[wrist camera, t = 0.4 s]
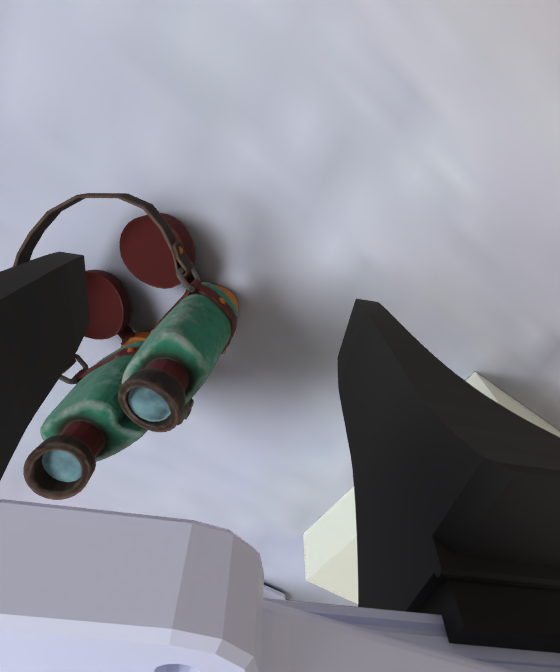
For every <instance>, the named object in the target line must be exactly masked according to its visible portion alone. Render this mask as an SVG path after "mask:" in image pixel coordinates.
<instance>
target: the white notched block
mask: <svg viewBox="0 0 560 672" xmlns="http://www.w3.org/2000/svg"><path fill="white" fill-rule="evenodd" d="M465 381H466V382H467V383H469V384H470V385H472V386H473V387H474V388H476V389H477V390H479V391H480V392H481V393H483V394H484V395H486V396H487V397H489V398H490V399H492V400H494V401H495V402H497V403H499V404H500V405H502V406H504V407H505V408H507V409H508V410H510V411H512V412H513V413H515V414H517V415H519V416H520V417H522V418H524V419H526V420H527V421H529V422H531V423H533V424H535V425H537V426H539V427H541V428H543V429H545V430H546V431H548V432H550V433H552V434H554V435H556V436H558V437H560V431H558V430H557V429H555V428H554V427H553V426H551V425H550V424H548V423H547V422H546V421H544V420H543V419H541V418H540V417H538V416H537V415H536V414H534V413H533V412H531V411H530V410H529V409H527V408H526V407H524V406H523V405H521V404H520V403H519V402H517V401H516V400H514V399H513V398H512V397H510V396H509V395H507V394H506V393H504V392H503V391H502V390H500V389H499V388H497V387H496V386H495V385H493V384H492V383H490V382H489V381H488V380H486V379H485V378H483V377H482V376H480V375H479V374H478V373H476V372H474V373H473V374H472V375H471V376H470V377H469V378H468V379H467V380H465ZM303 539H304V556H305V573H306V581H308V582H311V583H313V584H315V585H317V586H319V587H321V588H324V589H326V590H328V591H330V592H332V593H334V594H337V595H339V596H341V597H343V598H345V599H347V600H350V601H352V602H354V603H356V604H358V560H357V531H356V510H355V494H354V486H353V487H352V488H351V489H350V490H349V491H348V492H347V493H346V494H345V495H344V496H343V497H342V498H340V499H339V500H338V501H337V502H336V503H335V504H334V505H333V506H332V507H331V508H330V509H329V510H328V511H327V512H326V513H325V514H324V515H322V516H321V517H320V518H319V519H318V520H317V521H316V522H315V523H314V524H313V525H312V526H311V527H310V528H309V529H308V530H307V531H306V532H304V533H303Z"/></svg>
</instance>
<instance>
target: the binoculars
mask: <svg viewBox="0 0 560 672" xmlns="http://www.w3.org/2000/svg"><path fill="white" fill-rule="evenodd" d="M85 198H119V199H121V200H123V201H126V202H128V203H130V204H133V205H135V206H137V207H140V208H142V209H143V210H144V211H145V212H146V213H147V214H148V215H145V216H141V217H138V218H135V219H133V220H132V221H131V222H129V223H128V224H127V225H126V227H125V228H124V230H123V232H122V234H121V238H120V252H121V257H122V259H123V261H124V264H125V265H126V267H127V268H128V270H129V271H130V272H131V273H132V274H133V275H134V276H135V277H136V278H138V279H139V280H141V281H142V282H144V283H146V284H148V285H151V286H154V287H156V288H163V289H167V288H173V287H175V286H177V285H179V284H180V283H182V284H183V286H184V287H185V288H186V292H185V293H184V295H183V296H182V297H181V298H180V299H179V300H178V301H177V303H176V304H175V305H174V306H173V307H172V308H171V309H170V310H169V311H168V312H167V313H166V314H165V315H164V316H163V317H162V318H161V319H160V321H159V322H158V323H157V324H156V325H155V326H154V329H153V330H152V331H151V333H148V332H136V333H134V332H133V330H132V329H131V328H130V327H129V325H128V322H129V319H130V312H131V309H130V301H129V297H128V294H127V292H126V289H125V287H124V286H123V284H122V283H121V282H120V281H119V280H118V279H117V278H116V277H115V276H113V275H111V274H110V273H107V272H105V271H100V270H88V271H85V272H86V283H87V294H88V305H89V316H90V323H89V325H88V328H87V330H86V332H85V334H84V336H85V337H88V338H92V339H108V338H111V337H113V336H115V335H116V334H118V335H119V336H120V337H121V339H122V343H121V344H122V346H121V348H120V349H118V350H117V351H115V352H113V353H112V354H110V355H108V356H106V357H105V358H103V359H102V360H101V361H99V362H98V363H97V364H96V365H94V366H92V367H91V368H89V369H88V365H87V364H86V363H85V362H84V361H83V359H82V358H81V357H80V356H79V355H77V354H75V355H74V356H73V358H72V359H71V361H70V362H69V364H68V366H67V367H66V369H65V370H64V372H66V371H67V370H68V369H69V368H70V367H71V366H72V365H73V364H74V363H75V362H76V360H77V361H78V362H79V363H80V364H81V365H82V367H83V370H80V371H79V372H78V373H77V374H76V375H75V376H74V377H73V378H72V379H69V378H67V377H65V376H63V375H61V376H60V378H59V380H62V381H64V382H66V383H68V384H76V386H75V387H74V388H73V389H72V390H71V391H70V392H69V393H68V395H67V396H66V397H65V398H64V399H63V400H62V401H61V402H60V404H59V405H58V406H57V407H56V408H55V409H54V410H53V411H52V413H51V414H50V415H49V416H48V417H47V418H46V420H45V422H44V423H43V425H42V427H41V431H40V432H41V436H42V438H43V440H44V441H43V442H42V443H41V444H40V445H39V446H38V447H37V448H36V449H35V450H34V451H33V452H32V453H31V454H30V455H29V456H28V458H27V459H26V461H25V464H24V478H25V481H26V483H27V484H28V486H29V487H30V488H31V489H32V491H33V492H35V493H36V494H38V495H39V496H42V497H44V498H48V499H53V500H61V499H66V498H70V497H72V496H75V495H76V494H78V493H79V492H80V491H81V490H82V489H83V488H84V487H85V486H86V484H87V483H88V481H89V479H90V477H91V476H92V474H93V472H94V470H95V467H96V462H97V461H100V460H103V459H105V458H108V457H110V456H112V455H114V454H116V453H118V452H120V451H121V450H123V449H125V448H126V447H128V446H130V445H131V444H132V443H134V442H135V441H137V440H138V439H139V438H141V437H142V436H143V435H144V434H145V433H146V432H147V430H150V431H154V432H167V431H170V430H172V429H173V428H175V426H176V425H179V424H181V423H182V422H183V420H184V419H187V417H188V416H189V414H190V412H191V408H192V406H193V404H194V400H193V399H192V397H193V396H194V395H195V393H196V392H197V391H198V390H199V389H200V387H201V386H202V385H203V383H204V382H205V381H206V379H207V377H208V376H209V374H210V373H211V371H212V369H213V367H214V365H215V364H216V362H217V360H218V358H219V356H220V355H221V354H224V353H225V351H226V348H227V347H228V345H229V344H230V341H231V339H232V337H233V335H234V332H235V330H236V323H237V319H238V311H239V306H238V302H237V299H236V298H235V296H234V295H233V294H232V293H231V292H230V291H229V290H228V289H226V288H224V287H221V286H219V285H215V284H212V283H208V282H204V283H201V281H200V277H199V275H198V273H197V271H196V269H195V267H194V263H195V252H194V246H193V242H192V239H191V237H190V234H189V233H188V231H187V229H186V228H185V227H184V226H183V224H182V223H181V222H180V221H178V220H177V219H176V218H174V217H172V216H170V215H168V214H163V213H159V212H158V210H157V209H156V208H155V207H154V206H153V204H150V203H148V202H146V201H143V200H141V199H139V198H137V197H134V196H132V195H130V194H122V193H87V194H80V195H76V196H74V197H72V198H70V199H69V200H67V201H65V202H63V203H61V204H60V205H58V206H56V207H54V208H52V209H50V210H49V211H47V212H46V213H45V215H44V216H43V217H42V218H41V219H40V220H39V222H38V223H37V224H36V225H35V226H34V227H33V229H32V230H31V231H30V232H29V234H28V235H27V237H26V239H25V241H24V242H23V244H22V246H21V248H20V249H19V251H18V253H17V255H16V259H15V262H14V265H13V267H14V266H17V265H20V264H23V263H25V262H28V261H30V258H31V255H32V252H33V250H34V248H35V246H36V244H37V243H38V241H39V239H40V238H41V236H42V234H43V233H44V231H45V230H46V229H47V227H48V226H49V225H50V224H51V223H52V222H53V221H54V219H55V218H56V217H57V216H58V215H59V214H60V212H61V211H63V210H65V209H66V208H68V207H70V206H72V205H74V204H76V203H77V202H79V201H81V200H83V199H85ZM64 372H63V373H64Z"/></svg>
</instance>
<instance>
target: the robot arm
mask: <svg viewBox="0 0 560 672" xmlns="http://www.w3.org/2000/svg"><path fill="white" fill-rule="evenodd" d="M89 323H90V316H89V305H88V294H87V283H86V272H85V262H84V255H77V254H71V253H65V252H56V253H52V254H48V255H45V256H42V257H39V258H36V259H34V260H31V261H28V262H25V263H23V264H20V265H17V266H14V267H12V268H9V269H6V270H4V271H1V272H0V480H1V478H2V476H3V474H4V472H5V470H6V468H7V465H8V463H9V461H10V459H11V457H12V455H13V453H14V451H15V450H16V448H17V446H18V444H19V442H20V440H21V438H22V436H23V434H24V432H25V430H26V428H27V427H28V425H29V423H30V422H31V420H32V418H33V417H34V415H35V413H36V412H37V410H38V409H39V407H40V406H41V405H42V403H43V402H44V400H45V399H46V397H47V396H48V394H49V393H50V391H51V390H52V388H53V387H54V385H55V384H56V382H57V381H58V379H59V378H60V376H61V375H62V373H63V372H64V370H65V369H66V367H67V366H68V364H69V362H70V361H71V359H72V358H73V356H74V355H75V353H76V352H77V350H78V347H79V345H80V343H81V341H82V339H83V337H84V334H85V332H86V330H87V328H88V325H89ZM338 387H339V394H340V400H341V405H342V411H343V416H344V422H345V427H346V432H347V438H348V443H349V448H350V454H351V461H352V468H353V480H354V494H355V510H356V531H357V560H358V607H352V606H342V605H331V604H321V603H311V602H300V601H290V600H286V598H285V594H283V593H282V592H279V591H277V590H275V589H273V588H270V587H268V586H266V585H264V572H263V567H262V563H261V558H260V554H259V553H258V552H257V551H256V550H255V549H254V548H253V547H252V546H250V545H249V544H248V543H246V542H245V541H244V540H242V539H241V538H240V537H238V536H237V535H236V534H234V533H233V532H232V531H230V530H228V529H224V528H220V527H217V526H213V525H209V524H205V523H202V522H198V521H194V520H186V519H177V518H168V517H159V516H150V515H141V514H132V513H123V512H114V511H104V510H95V509H86V508H77V507H68V506H59V505H50V504H41V503H32V502H23V501H13V500H4V499H2V500H0V672H560V437H558V436H556V435H554V434H552V433H550V432H548V431H546V430H545V429H543V428H541V427H539V426H537V425H535V424H533V423H531V422H529V421H527V420H526V419H524V418H522V417H520V416H519V415H517V414H515V413H513V412H512V411H510V410H508V409H507V408H505V407H504V406H502V405H500V404H499V403H497V402H495V401H494V400H492V399H490V398H489V397H487V396H486V395H484V394H483V393H481V392H480V391H479V390H477V389H476V388H474V387H473V386H472V385H470V384H469V383H467V382H466V381H465V380H463V379H462V378H461V377H459V376H458V375H457V374H455V373H454V372H453V371H452V370H450V369H449V368H448V367H447V366H445V365H444V364H443V363H442V362H441V361H440V360H438V359H437V358H436V357H435V356H434V355H433V354H432V353H430V352H429V351H428V350H427V349H426V348H425V347H424V346H423V345H422V344H421V343H420V342H419V341H418V340H416V339H415V338H414V337H413V336H412V335H411V334H410V333H409V332H408V331H407V330H406V329H405V328H404V327H403V326H402V325H401V324H400V323H399V322H398V321H397V320H396V319H395V318H394V317H393V316H392V315H391V314H390V313H389V312H388V311H387V310H386V309H385V308H384V307H383V306H382V305H381V304H380V303H378V302H374V301H367V300H361V299H356V301H355V304H354V307H353V310H352V313H351V316H350V320H349V323H348V326H347V329H346V332H345V336H344V339H343V342H342V345H341V348H340V351H339V355H338Z"/></svg>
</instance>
